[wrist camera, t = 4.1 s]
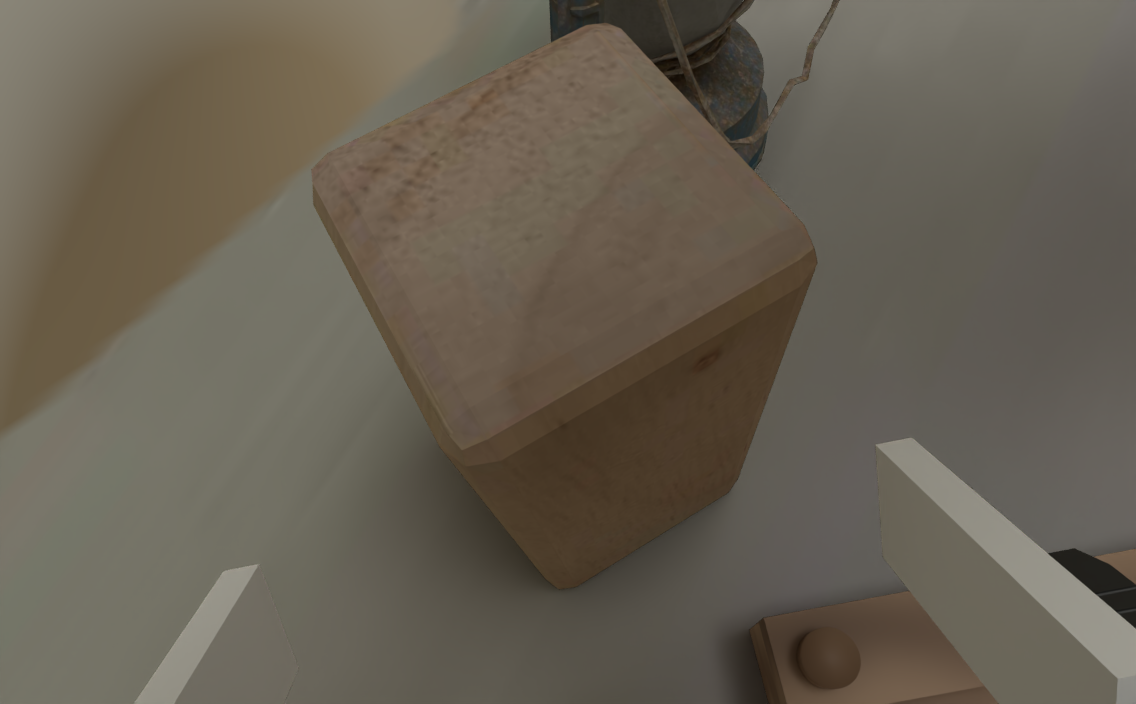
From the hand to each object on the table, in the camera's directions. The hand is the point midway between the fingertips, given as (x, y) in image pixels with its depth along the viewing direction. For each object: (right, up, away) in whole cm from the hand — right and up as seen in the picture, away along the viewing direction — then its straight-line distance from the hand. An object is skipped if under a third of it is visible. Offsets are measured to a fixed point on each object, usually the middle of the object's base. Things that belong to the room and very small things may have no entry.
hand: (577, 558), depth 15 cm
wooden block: (+1, -1, +20) cm, 20 cm away
